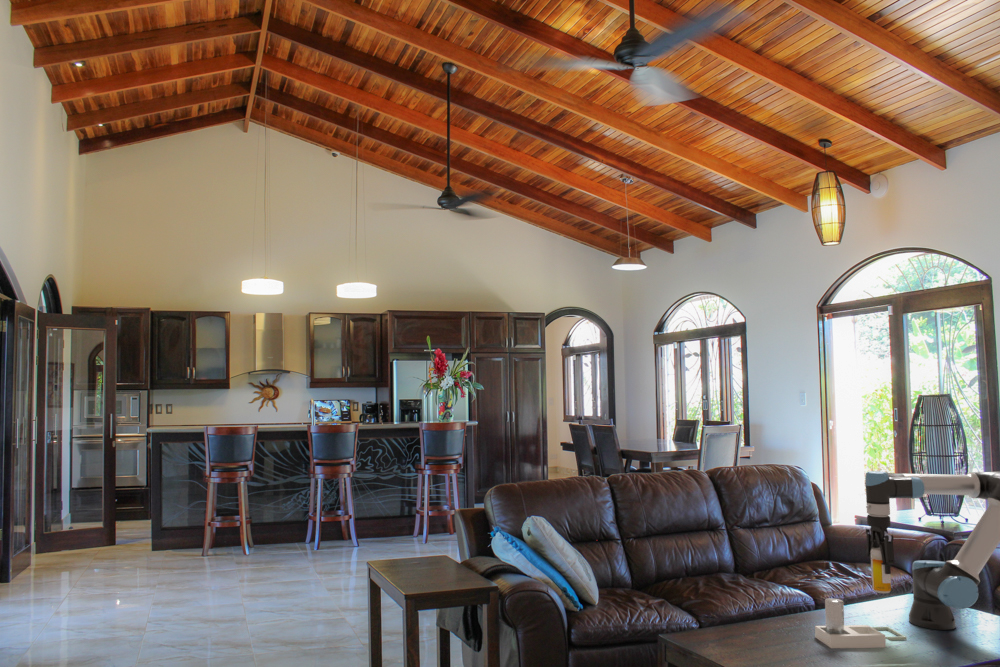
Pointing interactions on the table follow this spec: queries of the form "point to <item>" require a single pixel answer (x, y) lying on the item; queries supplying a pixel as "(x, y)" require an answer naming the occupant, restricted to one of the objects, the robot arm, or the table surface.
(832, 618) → the shiny metal cylinder
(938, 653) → the table surface
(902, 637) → the empty picture frame
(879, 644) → the dock
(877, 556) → the beer can
